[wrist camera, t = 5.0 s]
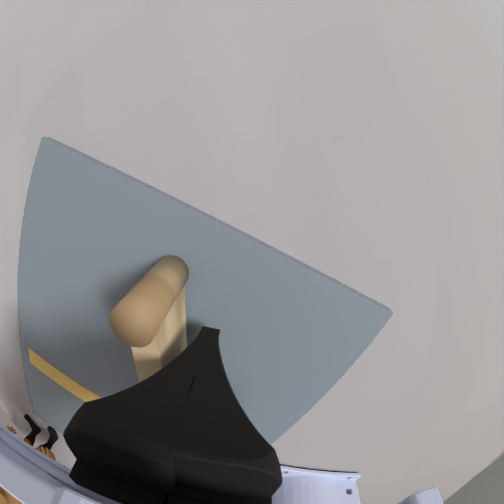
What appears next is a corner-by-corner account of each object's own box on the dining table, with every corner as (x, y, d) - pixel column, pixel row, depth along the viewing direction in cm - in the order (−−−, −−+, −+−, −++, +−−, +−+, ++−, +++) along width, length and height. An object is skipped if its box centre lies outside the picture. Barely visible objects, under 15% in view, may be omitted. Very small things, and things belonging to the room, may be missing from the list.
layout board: (389, 308, 12) (393, 314, 11) (200, 490, 19) (200, 495, 19) (48, 137, 10) (41, 136, 9) (35, 409, 17) (33, 413, 17)
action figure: (65, 430, 18) (13, 531, 3) (79, 449, 19) (36, 543, 4) (12, 404, 18) (-40, 481, 4) (26, 423, 19) (-20, 497, 5)
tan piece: (199, 439, 14) (189, 491, 10) (178, 436, 14) (165, 486, 10) (189, 256, 11) (151, 309, 7) (156, 253, 11) (105, 301, 7)
